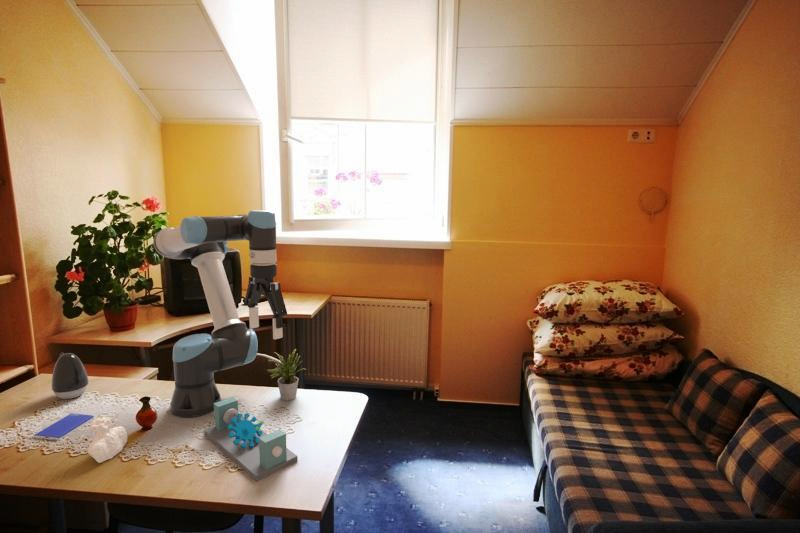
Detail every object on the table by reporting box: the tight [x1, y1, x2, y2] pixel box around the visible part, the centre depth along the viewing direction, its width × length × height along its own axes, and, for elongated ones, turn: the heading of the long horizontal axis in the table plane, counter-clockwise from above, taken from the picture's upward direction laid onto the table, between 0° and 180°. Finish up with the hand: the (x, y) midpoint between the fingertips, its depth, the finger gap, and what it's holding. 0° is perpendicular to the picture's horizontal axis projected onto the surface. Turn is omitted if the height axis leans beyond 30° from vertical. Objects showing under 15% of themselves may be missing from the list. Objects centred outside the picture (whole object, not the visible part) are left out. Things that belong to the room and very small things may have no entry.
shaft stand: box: [203, 396, 299, 482], centre depth 125 cm, size 31×12×9 cm, turn 47°
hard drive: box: [33, 413, 95, 441], centre depth 134 cm, size 2×8×12 cm
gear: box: [227, 412, 264, 449], centre depth 126 cm, size 11×6×10 cm
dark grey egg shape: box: [51, 352, 89, 400], centre depth 153 cm, size 10×10×15 cm
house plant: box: [266, 348, 306, 401], centre depth 157 cm, size 14×14×16 cm
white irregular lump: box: [86, 416, 129, 464], centre depth 121 cm, size 12×8×11 cm
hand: (265, 332), depth 135 cm, fingers open, 13 cm apart
